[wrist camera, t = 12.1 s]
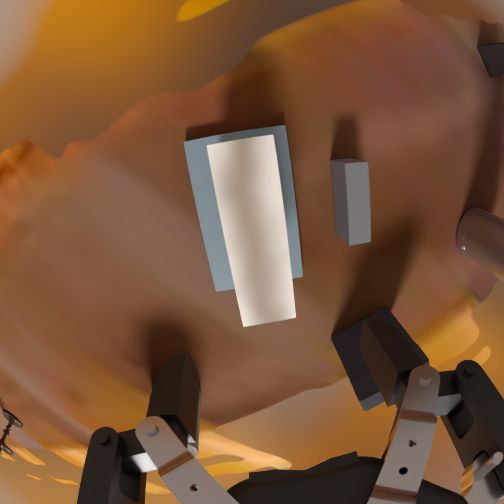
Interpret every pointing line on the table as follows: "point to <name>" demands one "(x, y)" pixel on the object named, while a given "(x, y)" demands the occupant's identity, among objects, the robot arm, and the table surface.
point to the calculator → (356, 366)
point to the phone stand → (493, 58)
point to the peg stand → (209, 206)
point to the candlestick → (12, 421)
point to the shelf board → (254, 227)
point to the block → (351, 200)
